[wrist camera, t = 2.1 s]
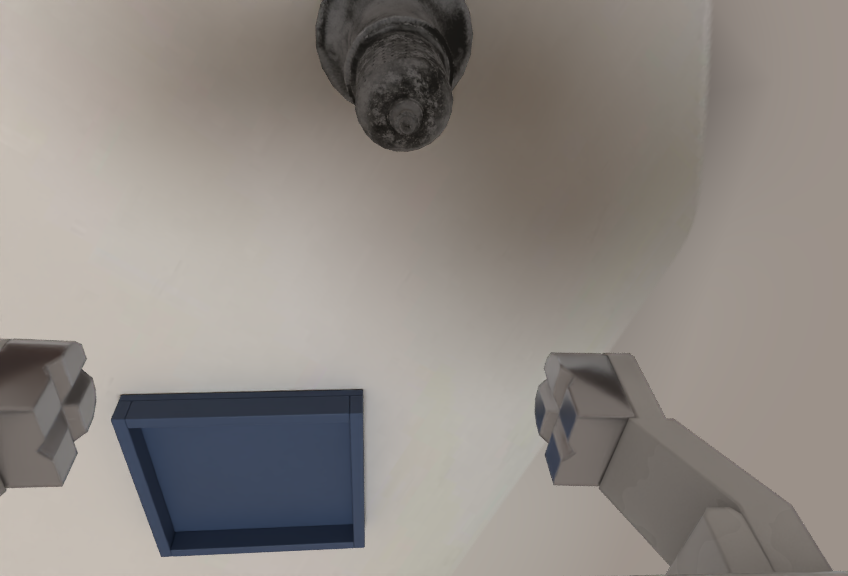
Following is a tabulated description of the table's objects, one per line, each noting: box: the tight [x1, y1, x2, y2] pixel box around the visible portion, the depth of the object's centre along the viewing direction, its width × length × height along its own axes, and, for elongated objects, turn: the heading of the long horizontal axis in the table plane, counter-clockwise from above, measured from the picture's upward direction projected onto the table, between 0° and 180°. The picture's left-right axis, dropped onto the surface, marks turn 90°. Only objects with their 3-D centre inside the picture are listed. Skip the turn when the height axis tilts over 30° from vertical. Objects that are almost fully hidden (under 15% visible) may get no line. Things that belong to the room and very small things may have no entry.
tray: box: [111, 390, 365, 557], centre depth 42 cm, size 15×15×2 cm
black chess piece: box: [316, 0, 473, 152], centre depth 21 cm, size 6×6×12 cm
